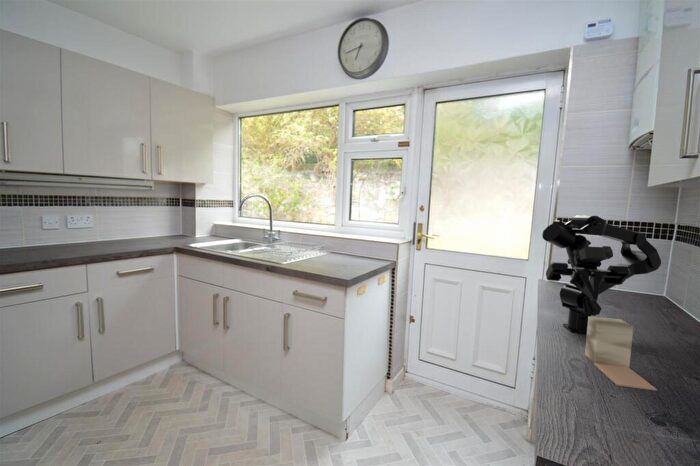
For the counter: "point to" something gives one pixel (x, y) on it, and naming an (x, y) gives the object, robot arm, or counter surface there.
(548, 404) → the counter surface
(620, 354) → the birch block
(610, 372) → the pad
